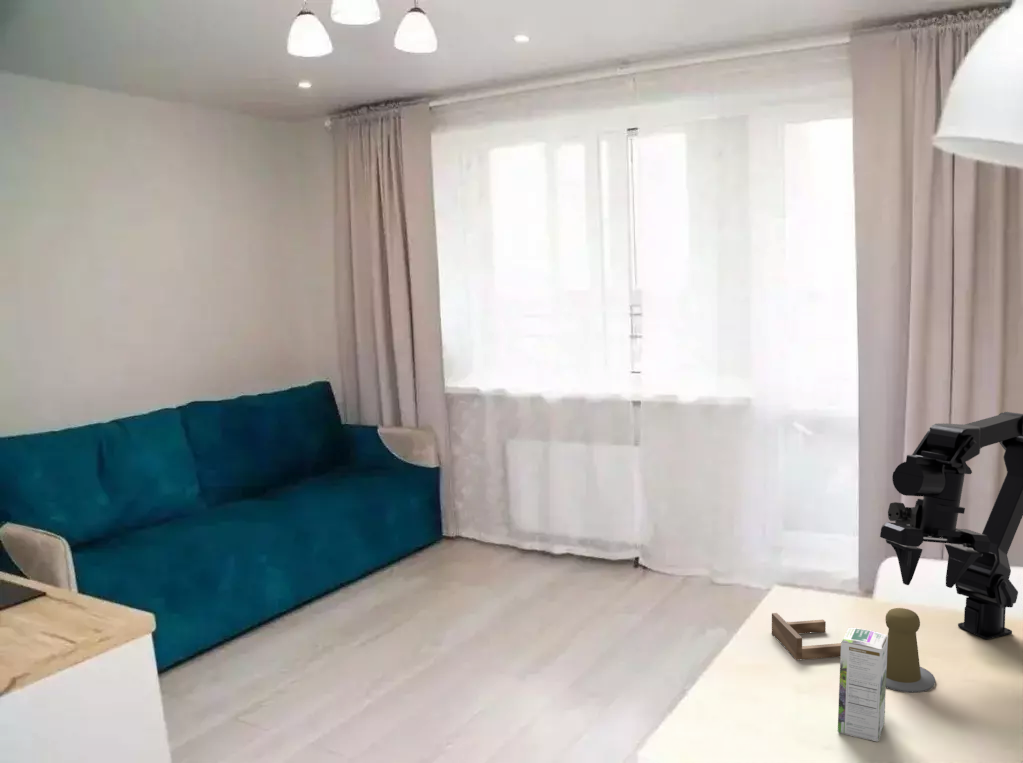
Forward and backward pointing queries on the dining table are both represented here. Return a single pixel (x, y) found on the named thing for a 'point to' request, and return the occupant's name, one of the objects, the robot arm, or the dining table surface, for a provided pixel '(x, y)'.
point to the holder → (793, 640)
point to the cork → (902, 646)
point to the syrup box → (862, 683)
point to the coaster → (919, 686)
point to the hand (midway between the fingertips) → (927, 585)
